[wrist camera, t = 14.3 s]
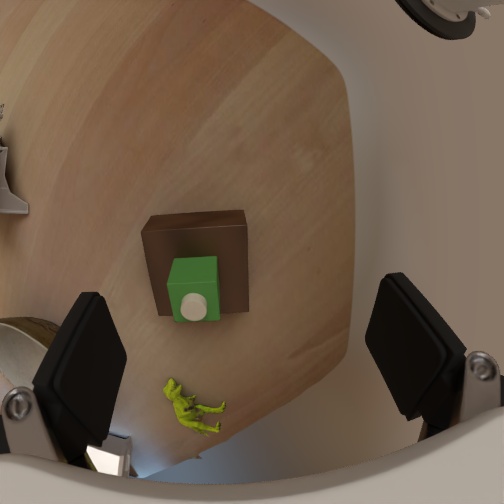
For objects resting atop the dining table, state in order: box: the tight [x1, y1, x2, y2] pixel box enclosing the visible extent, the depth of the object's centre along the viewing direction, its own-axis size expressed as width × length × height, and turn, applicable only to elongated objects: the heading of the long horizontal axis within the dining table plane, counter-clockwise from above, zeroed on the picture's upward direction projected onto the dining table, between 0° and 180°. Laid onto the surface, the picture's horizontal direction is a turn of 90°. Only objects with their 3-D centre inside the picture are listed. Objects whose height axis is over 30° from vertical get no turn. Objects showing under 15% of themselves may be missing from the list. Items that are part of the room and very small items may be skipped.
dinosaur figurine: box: [163, 379, 226, 436], centre depth 46 cm, size 20×10×6 cm, turn 24°
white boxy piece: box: [87, 434, 132, 477], centre depth 48 cm, size 25×16×19 cm, turn 73°
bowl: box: [0, 317, 60, 390], centre depth 35 cm, size 24×24×10 cm
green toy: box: [167, 256, 220, 322], centre depth 28 cm, size 5×5×6 cm
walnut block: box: [141, 210, 249, 316], centre depth 32 cm, size 11×11×5 cm
